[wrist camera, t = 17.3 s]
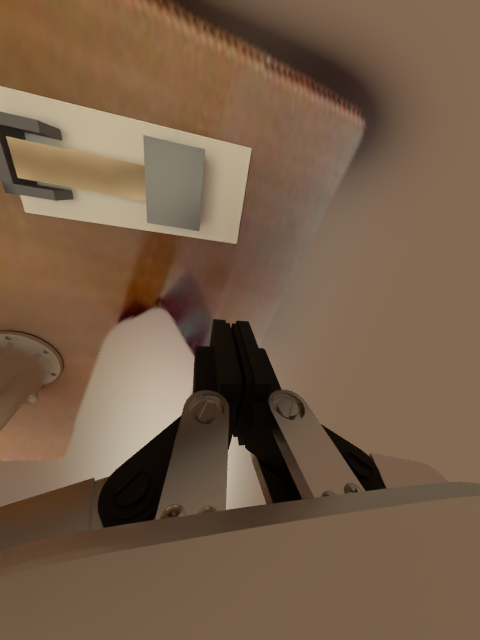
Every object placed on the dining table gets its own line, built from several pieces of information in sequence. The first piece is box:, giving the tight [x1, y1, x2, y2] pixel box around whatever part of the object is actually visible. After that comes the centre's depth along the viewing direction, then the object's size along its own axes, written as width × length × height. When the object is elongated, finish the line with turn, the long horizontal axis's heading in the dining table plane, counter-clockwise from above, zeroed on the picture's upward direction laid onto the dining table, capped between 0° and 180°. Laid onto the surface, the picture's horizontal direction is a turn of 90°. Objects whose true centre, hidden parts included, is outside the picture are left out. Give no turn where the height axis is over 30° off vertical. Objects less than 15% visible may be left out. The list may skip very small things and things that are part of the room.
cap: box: [143, 135, 205, 231], centre depth 26 cm, size 8×6×6 cm
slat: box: [6, 136, 146, 201], centre depth 25 cm, size 4×16×4 cm, turn 80°
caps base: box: [0, 86, 252, 244], centre depth 26 cm, size 12×28×5 cm, turn 80°
